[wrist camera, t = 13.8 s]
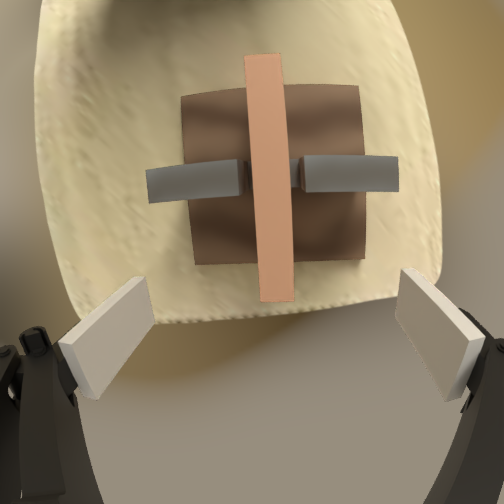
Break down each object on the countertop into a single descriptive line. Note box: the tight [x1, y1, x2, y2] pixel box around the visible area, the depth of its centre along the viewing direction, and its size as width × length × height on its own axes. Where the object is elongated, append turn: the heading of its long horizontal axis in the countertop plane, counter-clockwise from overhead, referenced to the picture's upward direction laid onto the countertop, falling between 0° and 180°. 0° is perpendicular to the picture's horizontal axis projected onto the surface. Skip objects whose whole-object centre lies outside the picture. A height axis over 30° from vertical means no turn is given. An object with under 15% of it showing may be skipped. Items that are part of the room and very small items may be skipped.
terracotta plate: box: [244, 53, 294, 302], centre depth 24 cm, size 18×2×12 cm, turn 4°
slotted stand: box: [146, 84, 399, 265], centre depth 25 cm, size 20×20×14 cm
